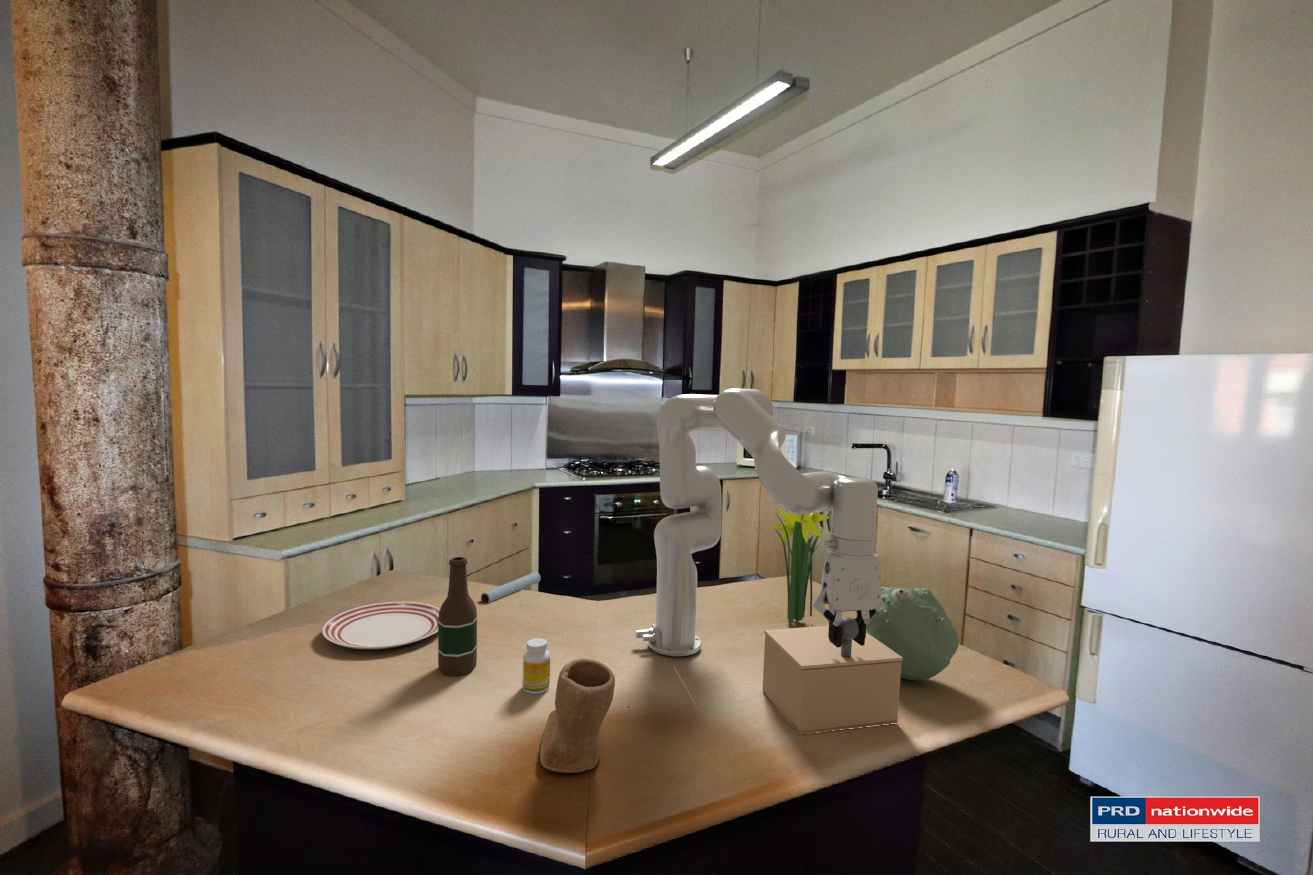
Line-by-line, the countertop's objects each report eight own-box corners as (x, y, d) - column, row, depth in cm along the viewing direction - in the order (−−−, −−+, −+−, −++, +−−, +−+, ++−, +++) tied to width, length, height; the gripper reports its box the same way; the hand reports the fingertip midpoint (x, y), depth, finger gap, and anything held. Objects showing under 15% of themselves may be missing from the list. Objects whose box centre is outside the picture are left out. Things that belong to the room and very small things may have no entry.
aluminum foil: (532, 581, 186) (532, 571, 186) (549, 585, 183) (549, 574, 183) (480, 603, 166) (480, 591, 166) (498, 608, 163) (498, 596, 162)
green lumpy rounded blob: (971, 693, 123) (978, 599, 121) (883, 695, 121) (890, 599, 119) (929, 659, 138) (935, 575, 137) (851, 660, 136) (856, 575, 135)
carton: (799, 735, 106) (802, 670, 105) (762, 690, 121) (765, 633, 120) (897, 724, 110) (901, 661, 109) (850, 682, 126) (853, 627, 125)
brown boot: (611, 780, 92) (613, 687, 91) (534, 779, 92) (535, 685, 90) (614, 725, 107) (617, 644, 106) (548, 724, 107) (550, 643, 105)
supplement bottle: (519, 684, 120) (520, 638, 120) (545, 679, 123) (546, 634, 122) (526, 697, 116) (526, 649, 115) (552, 692, 118) (553, 645, 117)
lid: (801, 669, 105) (803, 626, 104) (764, 633, 120) (766, 595, 120) (902, 660, 109) (905, 619, 109) (854, 626, 125) (856, 590, 124)
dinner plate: (467, 618, 154) (467, 606, 154) (405, 666, 127) (405, 651, 127) (372, 608, 159) (372, 596, 159) (293, 652, 132) (293, 637, 132)
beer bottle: (484, 665, 128) (485, 556, 126) (458, 681, 121) (459, 566, 119) (456, 658, 131) (457, 551, 129) (429, 672, 124) (430, 560, 122)
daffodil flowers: (764, 606, 170) (770, 485, 167) (816, 609, 169) (823, 487, 166) (770, 629, 153) (777, 495, 150) (829, 633, 152) (836, 498, 149)
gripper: (821, 553, 102) (815, 655, 104) (905, 549, 106) (899, 649, 108) (800, 541, 109) (795, 638, 111) (880, 539, 113) (874, 632, 115)
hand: (846, 642), depth 109 cm, fingers closed on lid, 4 cm apart
